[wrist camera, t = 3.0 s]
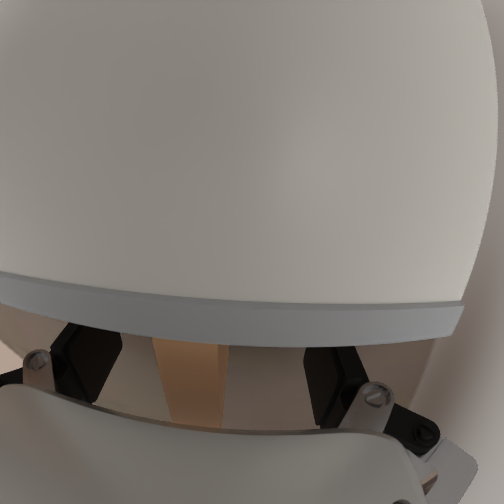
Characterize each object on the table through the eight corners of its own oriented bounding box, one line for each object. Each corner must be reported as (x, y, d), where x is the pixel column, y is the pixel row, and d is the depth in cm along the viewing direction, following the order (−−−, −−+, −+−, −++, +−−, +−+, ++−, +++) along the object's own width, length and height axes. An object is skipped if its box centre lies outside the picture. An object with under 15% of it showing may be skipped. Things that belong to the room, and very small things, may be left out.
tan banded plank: (199, 55, 8) (153, -15, 3) (245, 55, 8) (239, -23, 3) (196, 342, 13) (176, 436, 8) (230, 345, 13) (222, 441, 8)
